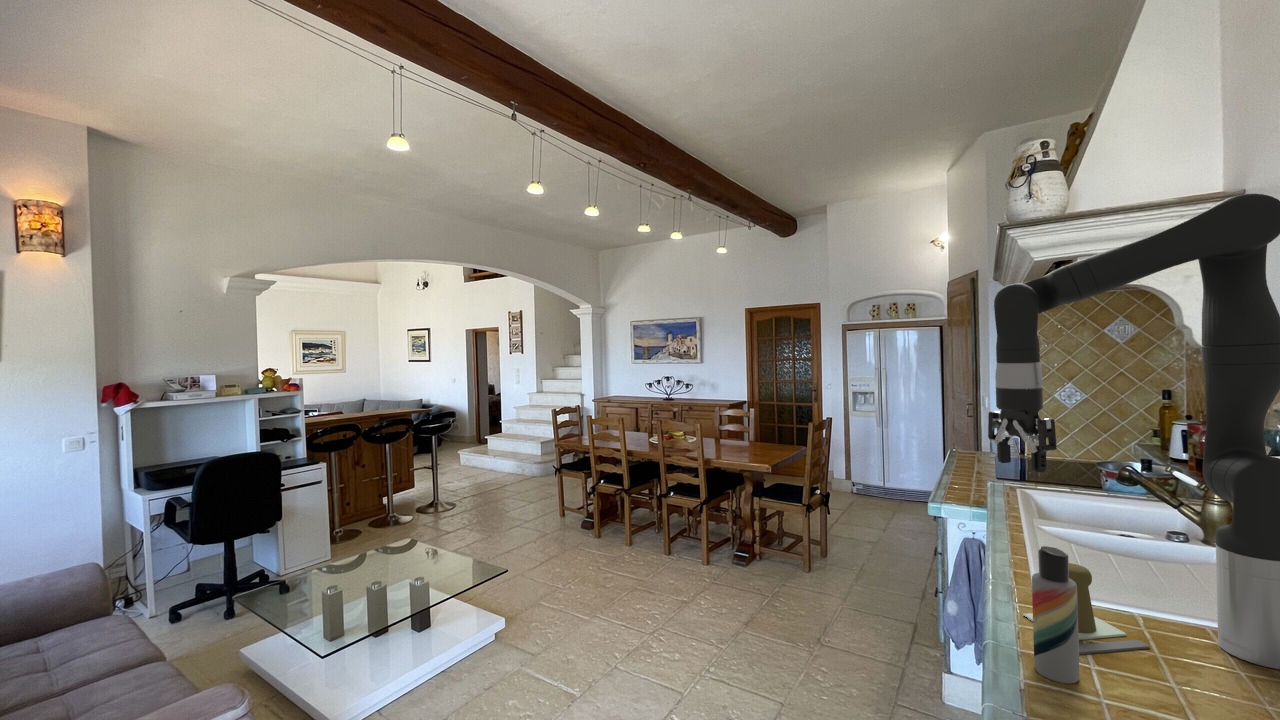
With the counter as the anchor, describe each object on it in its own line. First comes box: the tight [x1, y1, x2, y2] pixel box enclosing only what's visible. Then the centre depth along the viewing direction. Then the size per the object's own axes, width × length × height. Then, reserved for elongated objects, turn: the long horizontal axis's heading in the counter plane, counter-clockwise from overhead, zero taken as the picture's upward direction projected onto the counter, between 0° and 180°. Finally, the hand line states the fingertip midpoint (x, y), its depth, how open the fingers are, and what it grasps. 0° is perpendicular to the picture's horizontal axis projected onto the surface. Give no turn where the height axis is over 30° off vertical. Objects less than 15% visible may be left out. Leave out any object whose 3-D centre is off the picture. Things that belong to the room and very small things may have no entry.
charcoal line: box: [1079, 639, 1151, 656], centre depth 90 cm, size 16×2×1 cm, turn 94°
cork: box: [1069, 562, 1096, 633], centre depth 97 cm, size 6×6×11 cm
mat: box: [1022, 612, 1127, 641], centre depth 98 cm, size 12×9×1 cm
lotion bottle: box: [1031, 545, 1080, 684], centre depth 84 cm, size 6×6×20 cm
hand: (1020, 466), depth 105 cm, fingers open, 8 cm apart
